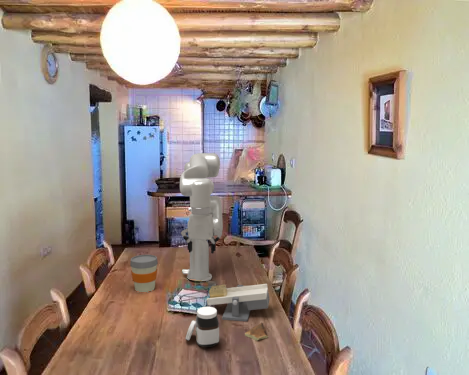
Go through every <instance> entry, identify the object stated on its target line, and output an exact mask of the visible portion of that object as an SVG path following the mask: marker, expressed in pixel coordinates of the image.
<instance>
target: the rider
mask: <svg viewBox="0 0 469 375" xmlns="http://www.w3.org/2000/svg"><path fill="white" fill-rule="evenodd" d="M226 288H227V285H226V283H225V284H219V285H211V287H210V289H209V290H208V294H209V298H216V297H225V296H226V295H227V289H226Z"/></svg>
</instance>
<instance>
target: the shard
mask: <svg viewBox="0 0 469 375" xmlns="http://www.w3.org/2000/svg"><path fill="white" fill-rule="evenodd" d="M244 336H245V337H248V338H250V339H252V340H254V341H256V342H258V341H259V340H260V341H261V340H262V339H268V338H269V336H268V333H267V331H266V328H265V326H264V323H263V322H261V323H259V324H257V325H255V326H253V327H252V328H250V329H248V330H247V331H246V332H244Z"/></svg>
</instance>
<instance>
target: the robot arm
mask: <svg viewBox="0 0 469 375" xmlns="http://www.w3.org/2000/svg"><path fill="white" fill-rule="evenodd" d="M220 160H221V159H220V157H219V155H218V154H217V153H213V152H209V153H208V152H201V153H200V152H197V153H194V154H192V155H191V157H190V158H189V161H188V162H186V163H185V164H184V166H183V170H184V171H183V172H182V173H181V175H180V178H179V191H180V193H181V195H182V196H184V197H189V206H190V207H189V208H188V210H187V211H188V212H190V213H191V214H189V218H188V221H187V228H186V229H184V230H182V231H181V232H180V235H181V236H182V238H183V239H184V241H185V242H186V243H187V250H188V253H189V268H188V269H186V268H182V271H181V273H182V274H183V275H186V279H187V278H188V279H196V280H202V281H206V282H209V281H211V279H212V278H213V276H212V275H213V274H211V273H210V270H209V269H210V263H209V262H210V260H209V259H210V258H209V256H210V254H209V247H210V253H211V254H214V253H215V252H216V249H217V248H216V244H217V242H218V241H220V239H221V237H222V236H223V228H224V227H223V222H224V221H223V206H222V200H221V198H220V197H219V196H218V195H212V194H213V192H214V190H215V184H214V182H213V181H212V178H216V177H218V176H219V174H220V169H221V168H220V167H221V161H220ZM210 178H211V179H210ZM186 233H187V234H186ZM215 237H216V238H215ZM208 240H209V241H210V242H211V244H209V242H208ZM209 245H210V246H209ZM188 279H187V280H188Z"/></svg>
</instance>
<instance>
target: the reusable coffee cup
mask: <svg viewBox="0 0 469 375" xmlns="http://www.w3.org/2000/svg"><path fill="white" fill-rule="evenodd" d="M130 267H131V271H130V273H131V278H132V282H133V285H134V290H136V291H139V292H147V293H149V292H148V291H151V292H153V291H154V290H155V288H156V280H157V276H158V257H157V256H156V255H155V254H154V255H153V254H138V255H135V256H133V257H131V258H130ZM152 290H153V291H152ZM136 291H135V292H136ZM139 292H138V293H139Z"/></svg>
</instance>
